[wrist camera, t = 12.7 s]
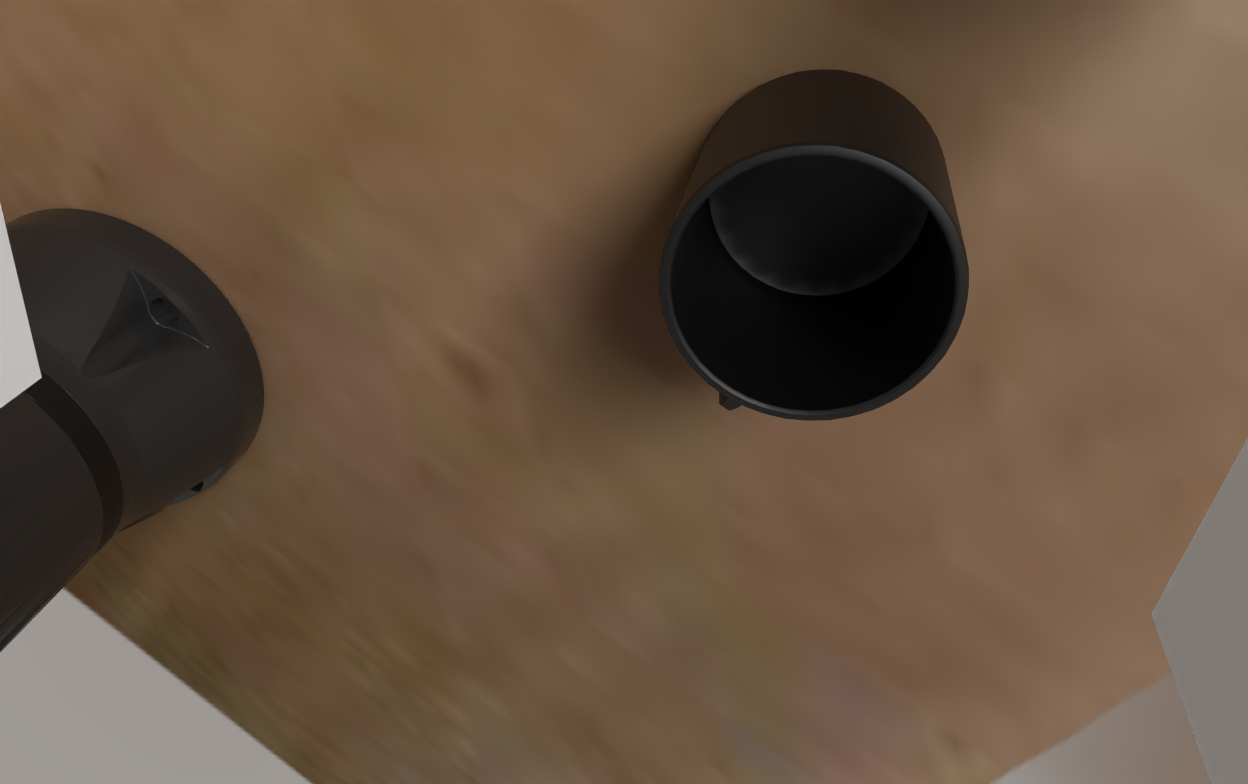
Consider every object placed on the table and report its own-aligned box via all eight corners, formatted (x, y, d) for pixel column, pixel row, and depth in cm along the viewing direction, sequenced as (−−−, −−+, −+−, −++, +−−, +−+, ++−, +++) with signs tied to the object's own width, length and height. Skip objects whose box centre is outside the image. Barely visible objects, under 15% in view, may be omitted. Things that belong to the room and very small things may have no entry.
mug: (635, 294, 42) (587, 407, 35) (760, 22, 36) (734, 88, 28) (837, 386, 43) (833, 517, 35) (998, 133, 36) (1035, 229, 29)
